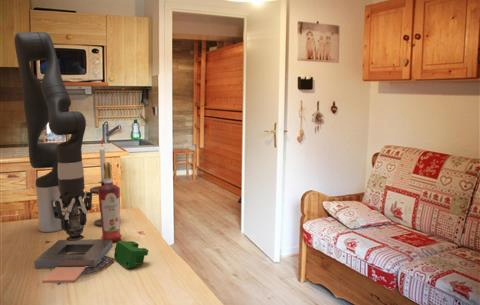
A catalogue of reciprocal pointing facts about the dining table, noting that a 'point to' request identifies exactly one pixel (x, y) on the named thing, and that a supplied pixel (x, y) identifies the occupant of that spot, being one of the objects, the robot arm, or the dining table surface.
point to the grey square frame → (61, 247)
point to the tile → (64, 274)
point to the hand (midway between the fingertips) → (74, 227)
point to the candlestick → (95, 189)
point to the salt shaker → (74, 226)
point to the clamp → (129, 253)
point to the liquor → (109, 206)
